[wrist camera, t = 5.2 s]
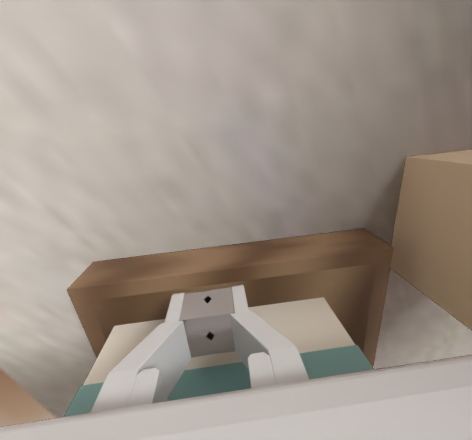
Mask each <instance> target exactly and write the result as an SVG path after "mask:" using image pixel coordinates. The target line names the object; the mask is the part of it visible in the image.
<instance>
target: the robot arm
mask: <svg viewBox="0 0 472 440" xmlns="http://www.w3.org/2000/svg"><path fill="white" fill-rule="evenodd" d="M234 351H235V353H236V354H237V355H238V357H239V358H240V359H241V361H242V362H243V363H244V365H245V366H246V367H247V369H248V370H249V376H250V387H251V388H250V389H244V390H237V391H230V392H224V393H217V394H211V395H204V396H198V397H191V398H185V399H178V400H172V401H168V396H169V394H170V393H171V391H172V390H173V388H174V386H175V385H176V383H177V381H178V380H179V378H180V377H181V375H182V373H183V372H184V370H185V369H186V367H187V365H188V364H189V362H190V361H191V358H192V357H198V356H204V355H210V354H217V353H225V352H234ZM0 440H472V355H466V356H460V357H453V358H447V359H440V360H434V361H427V362H421V363H414V364H408V365H401V366H394V367H388V368H381V369H375V370H368V371H362V372H355V373H349V374H342V375H336V376H329V377H322V378H316V379H309V377H308V375H307V372H306V370H305V367H304V365H303V362H302V359H301V357H300V354H299V352H298V349H297V347H296V346H295V345H294V344H293V343H291V342H290V341H289V340H288V339H287V338H285V337H284V336H283V335H282V334H280V333H279V332H278V331H277V330H275V329H274V328H273V327H272V326H270V325H269V324H268V323H267V322H265V321H264V320H263V319H262V318H260V317H259V316H258V315H257V314H255V313H254V312H253V311H249V309H248V304H247V299H246V294H245V289H244V285H238V286H232V288H231V287H228V288H220V289H213V290H203V291H193V292H185V293H176V294H173V295H172V297H171V300H170V304H169V308H168V311H167V315H166V319H165V322H164V323H161V324H160V325H159V326H157V327H156V328H155V329H154V330H153V331H152V332H151V333H150V334H149V335H148V336H147V337H146V338H145V339H144V340H143V341H142V342H141V343H140V344H139V345H137V346H136V347H135V348H134V349H133V350H132V351H131V352H130V353H129V354H128V355H127V356H126V357H125V358H124V359H123V360H122V361H121V362H120V363H119V364H117V365H116V366H115V367H114V368H113V369H112V370H111V371H110V372H109V373H108V375H107V377H106V379H105V381H104V384H103V386H102V388H101V390H100V392H99V395H98V397H97V399H96V401H95V403H94V406H93V408H92V410H91V412H90V413H87V414H80V415H73V416H67V417H60V418H54V419H48V420H41V421H34V422H28V423H22V424H15V425H8V426H2V427H0Z"/></svg>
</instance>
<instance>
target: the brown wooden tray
mask: <svg viewBox="0 0 472 440" xmlns="http://www.w3.org/2000/svg"><path fill="white" fill-rule="evenodd" d="M393 249H394V247H392V246H391V245H389V244H387V243H386V242H384V241H383V240H381V239H379V238H378V237H376V236H375V235H373V234H372V233H370V232H368V231H367V230H365V229H364V228H363V229H355V230H346V231H338V232H330V233H322V234H314V235H306V236H298V237H290V238H282V239H274V240H266V241H258V242H250V243H242V244H234V245H226V246H218V247H210V248H202V249H193V250H185V251H177V252H169V253H161V254H153V255H145V256H137V257H129V258H121V259H113V260H105V261H97V262H93V263H92V264H91V265H90V266H89V267H88V268H87V269H86V270H85V271H84V272H83V273H82V274H81V275H80V276H79V277H78V278H77V280H76V281H75V282H74V283H73V284H72V285H71V286H70V287H69V288H68V289H67V292H68V294H69V296H70V298H71V301H72V303H73V305H74V307H75V310H76V312H77V314H78V316H79V319H80V321H81V323H82V326H83V328H84V330H85V332H86V335H87V337H88V339H89V341H90V344H91V346H92V348H93V351H94V353H95V355H96V357H97V358H98V356H99V354H100V352H101V350H102V348H103V346H104V344H105V343H106V341H107V339H108V337H109V335H110V333H111V331H112V329H113V327H114V326H117V325H124V324H131V323H139V322H146V321H153V320H161V319H166V315H167V311H168V308H169V304H170V300H171V297H172V295H173V294H176V293H185V292H193V291H203V290H213V289H220V288H228V287H231V288H232V286H238V285H244V289H245V294H246V299H247V304H248V307H255V306H263V305H270V304H277V303H284V302H292V301H299V300H306V299H314V298H321V297H324V298H325V300H326V301H327V303H328V304H329V306H330V307H331V309H332V310H333V312H334V313H335V315H336V316H337V318H338V319H339V321H340V322H341V324H342V325H343V327H344V328H345V330H346V331H347V333H348V334H349V336H350V337H351V339H352V341H353V342H354V344H355V345H358V346H359V348H360V349H361V351H362V352H363V354H364V355H365V357H366V358H367V360H368V361H369V363H370V364H371V366H372V367H373V364H374V359H375V353H376V347H377V341H378V336H379V330H380V324H381V318H382V312H383V307H384V301H385V295H386V289H387V284H388V278H389V272H390V266H391V261H392V255H393Z"/></svg>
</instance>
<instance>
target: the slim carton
mask: <svg viewBox="0 0 472 440" xmlns="http://www.w3.org/2000/svg"><path fill="white" fill-rule="evenodd" d="M391 246H392V247H394V249H393V255H392V261H391V266H390V268H391V269H392V270H393V271H394V272H396V273H397V274H398V275H400V276H401V277H402V278H404V279H405V280H406V281H408V282H409V283H410V284H411V285H413V286H414V287H415V288H417V289H418V290H419V291H421V292H422V293H423V294H425V295H426V296H427V297H429V298H430V299H431V300H432V301H434V302H435V303H436V304H438V305H439V306H440V307H442V308H443V309H444V310H446V311H447V312H448V313H449V314H451V315H452V316H453V317H455V318H456V319H457V320H459V321H460V322H461V323H463V324H464V325H465V326H467V327H468V328H469V329H470V330H472V150H463V151H454V152H445V153H435V154H426V155H417V156H408V157H406V160H405V166H404V172H403V178H402V184H401V190H400V196H399V202H398V208H397V214H396V220H395V226H394V232H393V237H392V243H391Z"/></svg>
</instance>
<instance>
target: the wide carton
mask: <svg viewBox="0 0 472 440" xmlns="http://www.w3.org/2000/svg"><path fill="white" fill-rule="evenodd" d="M248 309H249V311H253V312H254V313H255V314H257V315H258V316H259V317H260V318H262V319H263V320H264V321H265V322H267V323H268V324H269V325H270V326H272V327H273V328H274V329H275V330H277V331H278V332H279V333H280V334H282V335H283V336H284V337H285V338H287V339H288V340H289V341H290V342H291V343H293V344H294V345H295V346H296V347H297V349H298V352H299V354H300V357H301V359H302V362H303V365H304V367H305V370H306V372H307V375H308V377H309V379H316V378H322V377H329V376H336V375H342V374H349V373H355V372H362V371H368V370H374V369H373V367H372V366H371V364H370V363H369V361H368V360H367V358H366V357H365V355H364V354H363V352H362V351H361V349H360V348H359V346H358V345H355V344H354V342H353V341H352V339H351V337H350V336H349V334H348V333H347V331H346V330H345V328H344V327H343V325H342V324H341V322H340V321H339V319H338V318H337V316H336V315H335V313H334V312H333V310H332V309H331V307H330V306H329V304H328V303H327V301H326V300H325V298H324V297H321V298H314V299H306V300H299V301H292V302H284V303H277V304H270V305H263V306H255V307H248ZM164 322H165V319H161V320H153V321H146V322H139V323H131V324H124V325H117V326H114V327H113V329H112V331H111V333H110V335H109V337H108V339H107V341H106V343H105V344H104V346H103V348H102V350H101V352H100V354H99V356H98V358H97V360H96V361H95V363H94V365H93V367H92V369H91V371H90V373H89V375H88V377H87V378H86V380H85V382H84V384H83V385H82V386H80V388H79V389H78V391H77V393H76V395H75V397H74V399H73V401H72V402H71V404H70V406H69V408H68V410H67V412H66V414H65V416H64V417H67V416H73V415H80V414H87V413H90V412H91V410H92V408H93V406H94V403H95V401H96V399H97V397H98V395H99V392H100V390H101V388H102V386H103V384H104V381H105V379H106V377H107V375H108V373H109V372H110V371H111V370H112V369H113V368H114V367H115V366H116V365H117V364H119V363H120V362H121V361H122V360H123V359H124V358H125V357H126V356H127V355H128V354H129V353H130V352H131V351H132V350H133V349H134V348H135V347H136V346H137V345H139V344H140V343H141V342H142V341H143V340H144V339H145V338H146V337H147V336H148V335H149V334H150V333H151V332H152V331H153V330H154V329H155V328H156V327H157V326H159V325H160V324H161V323H164ZM250 388H251V387H250V376H249V370H248V369H247V367H246V366H245V365H244V363H243V362H242V361H241V359H240V358H239V357H238V355H237V354H236V353H235V351H234V352H225V353H217V354H210V355H204V356H198V357H192V358H191V361H190V362H189V364H188V365H187V367H186V369H185V370H184V372H183V373H182V375H181V377H180V378H179V380H178V381H177V383H176V385H175V386H174V388H173V390H172V391H171V393H170V394H169V396H168V401H172V400H178V399H185V398H191V397H198V396H204V395H211V394H217V393H224V392H230V391H237V390H244V389H250Z"/></svg>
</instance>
